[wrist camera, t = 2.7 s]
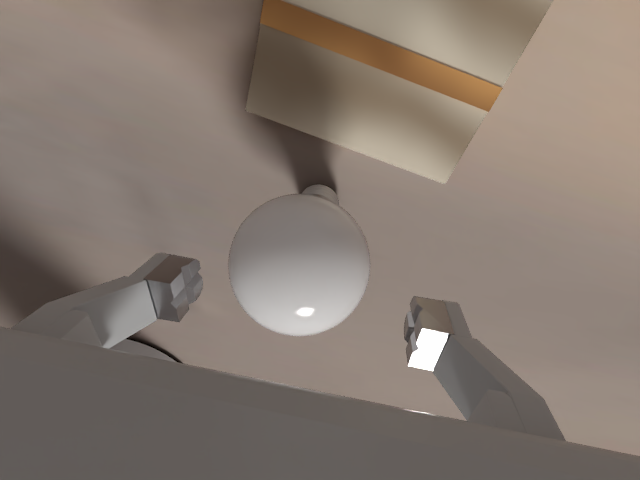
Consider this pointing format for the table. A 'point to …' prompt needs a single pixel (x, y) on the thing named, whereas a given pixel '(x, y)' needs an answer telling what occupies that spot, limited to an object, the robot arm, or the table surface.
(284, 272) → the lightbulb
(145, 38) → the table surface
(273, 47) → the board
